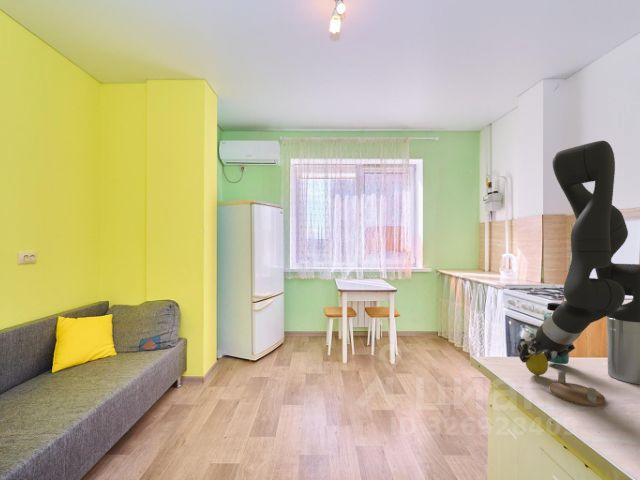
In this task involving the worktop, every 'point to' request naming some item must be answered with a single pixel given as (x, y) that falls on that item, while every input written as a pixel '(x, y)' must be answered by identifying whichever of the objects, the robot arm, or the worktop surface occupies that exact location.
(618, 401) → the worktop surface
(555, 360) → the beverage bottle
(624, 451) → the worktop surface
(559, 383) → the pin dish
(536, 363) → the lemon
